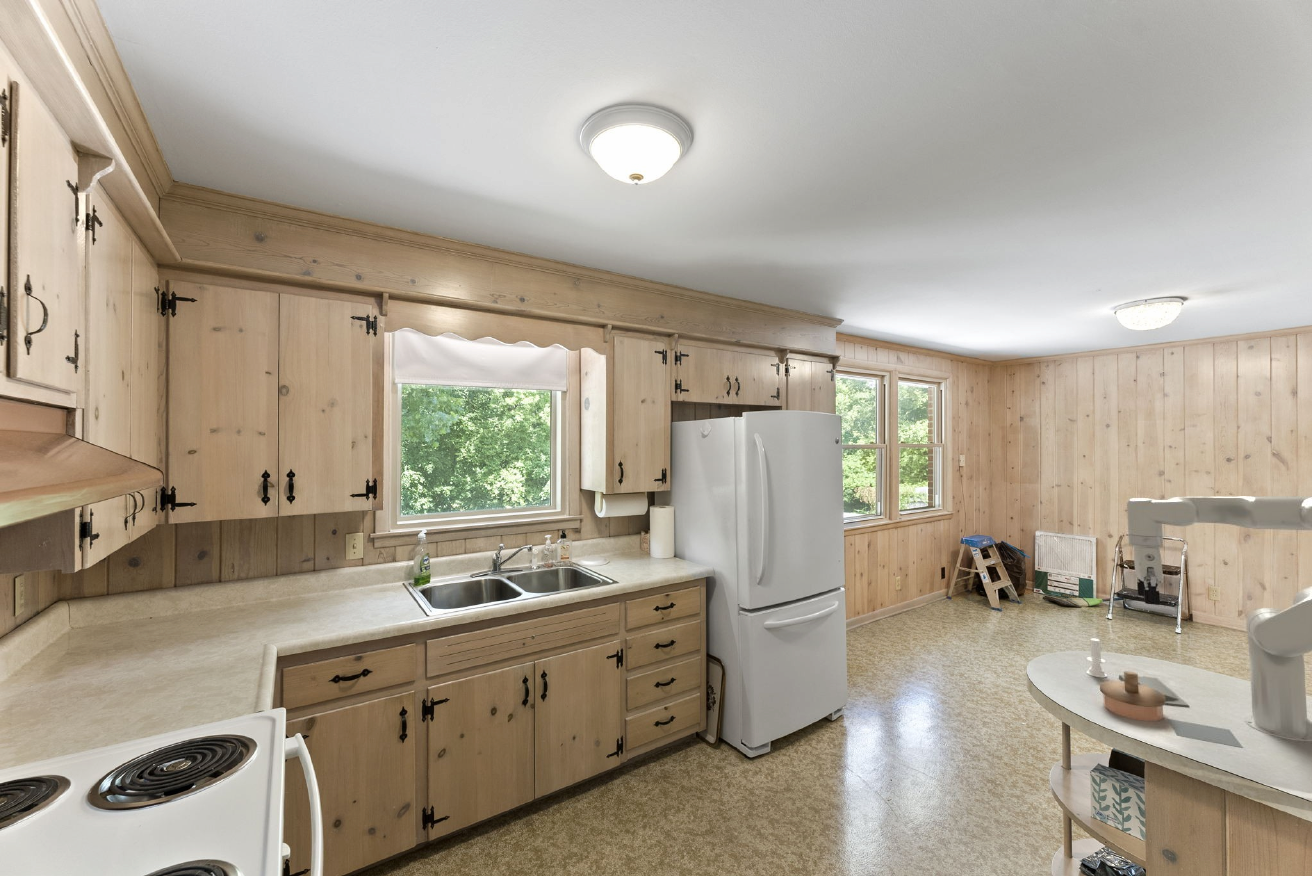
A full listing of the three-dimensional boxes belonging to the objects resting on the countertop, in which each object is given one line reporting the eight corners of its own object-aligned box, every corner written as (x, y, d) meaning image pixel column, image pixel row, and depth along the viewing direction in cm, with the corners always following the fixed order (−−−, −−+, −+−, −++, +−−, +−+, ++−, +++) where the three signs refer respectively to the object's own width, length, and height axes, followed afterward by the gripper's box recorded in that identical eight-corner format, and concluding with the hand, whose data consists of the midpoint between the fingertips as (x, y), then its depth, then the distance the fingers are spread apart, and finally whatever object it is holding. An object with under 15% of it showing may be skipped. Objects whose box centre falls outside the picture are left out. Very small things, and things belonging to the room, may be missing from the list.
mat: (1229, 733, 143) (1229, 729, 143) (1243, 751, 134) (1243, 747, 135) (1167, 722, 149) (1167, 718, 149) (1177, 739, 141) (1176, 735, 141)
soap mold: (1158, 684, 174) (1158, 673, 174) (1192, 713, 155) (1191, 700, 155) (1118, 680, 178) (1117, 669, 178) (1146, 707, 159) (1145, 695, 159)
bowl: (1157, 709, 157) (1156, 691, 157) (1167, 728, 146) (1166, 709, 146) (1101, 699, 163) (1100, 682, 164) (1107, 717, 153) (1106, 699, 153)
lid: (1159, 691, 157) (1158, 669, 157) (1171, 711, 145) (1170, 687, 145) (1096, 681, 165) (1095, 660, 165) (1103, 699, 153) (1102, 677, 153)
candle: (1086, 669, 185) (1085, 633, 185) (1107, 673, 181) (1105, 636, 182) (1086, 675, 181) (1084, 638, 181) (1107, 679, 177) (1105, 641, 178)
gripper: (1170, 546, 151) (1173, 609, 151) (1156, 537, 166) (1158, 594, 165) (1134, 544, 155) (1137, 605, 155) (1123, 535, 170) (1126, 591, 169)
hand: (1148, 599), depth 160 cm, fingers open, 9 cm apart
